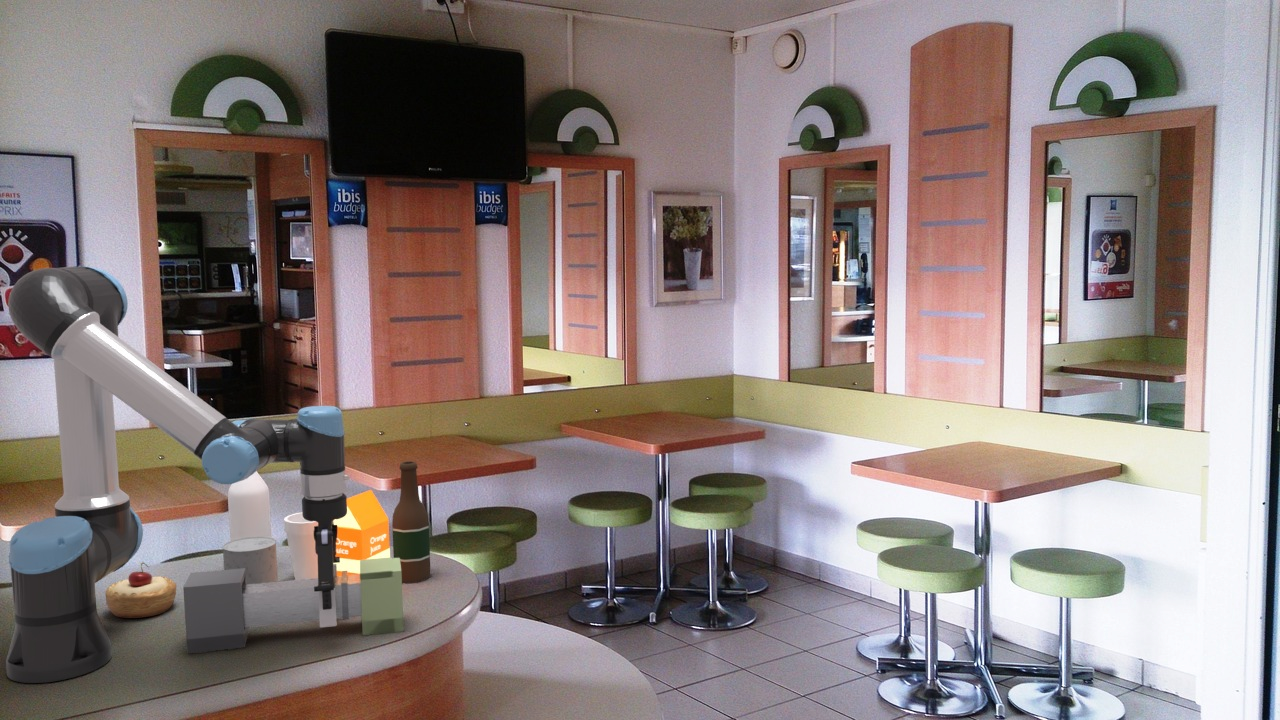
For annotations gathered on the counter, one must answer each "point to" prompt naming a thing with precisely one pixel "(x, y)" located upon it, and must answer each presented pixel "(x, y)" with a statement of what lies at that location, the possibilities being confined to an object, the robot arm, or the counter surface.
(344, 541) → the orange juice
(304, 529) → the foam cup
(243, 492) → the bottle
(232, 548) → the gray cylinder
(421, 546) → the beer bottle
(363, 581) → the socket
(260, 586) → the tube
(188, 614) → the sleeve
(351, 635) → the counter surface
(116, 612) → the pastry
